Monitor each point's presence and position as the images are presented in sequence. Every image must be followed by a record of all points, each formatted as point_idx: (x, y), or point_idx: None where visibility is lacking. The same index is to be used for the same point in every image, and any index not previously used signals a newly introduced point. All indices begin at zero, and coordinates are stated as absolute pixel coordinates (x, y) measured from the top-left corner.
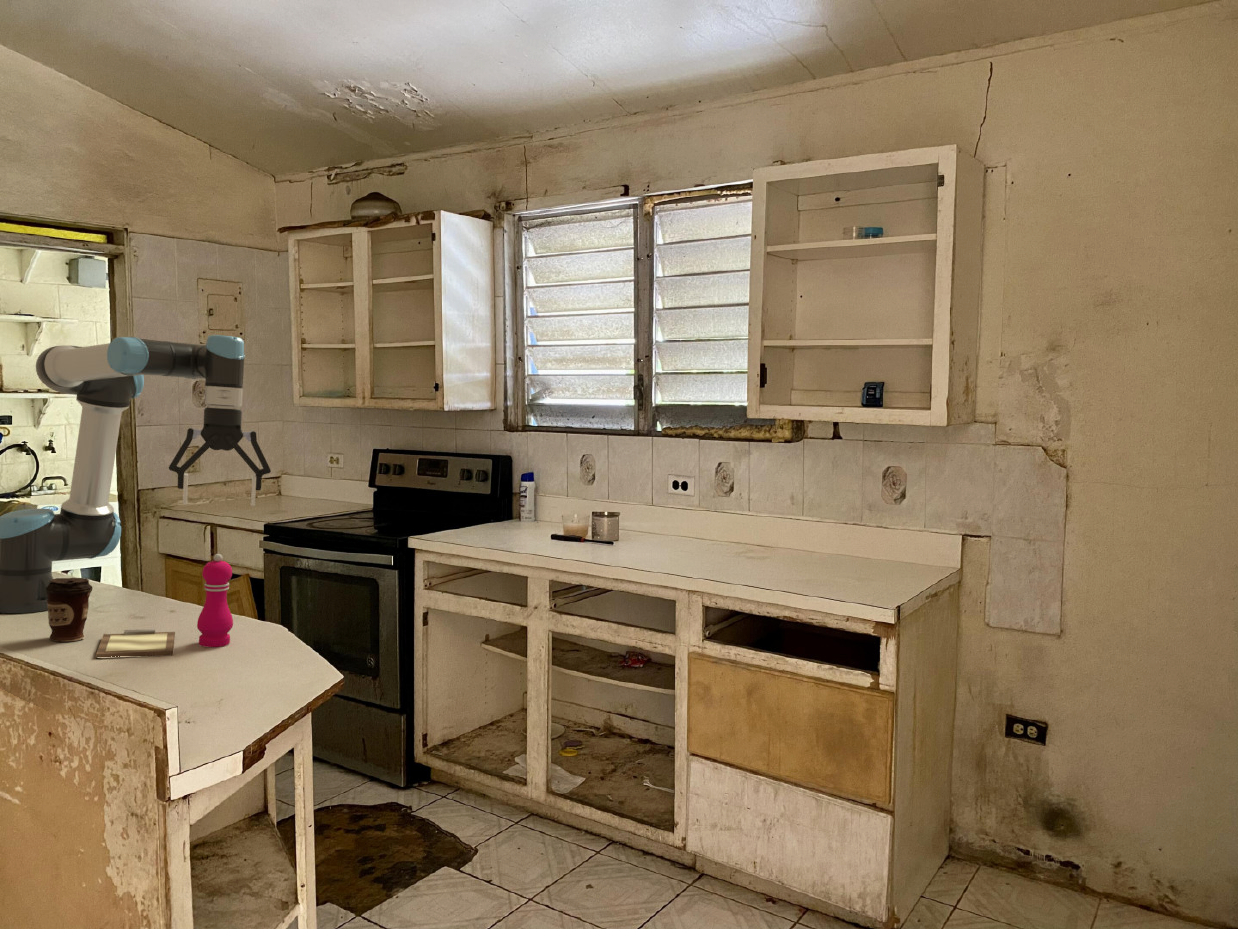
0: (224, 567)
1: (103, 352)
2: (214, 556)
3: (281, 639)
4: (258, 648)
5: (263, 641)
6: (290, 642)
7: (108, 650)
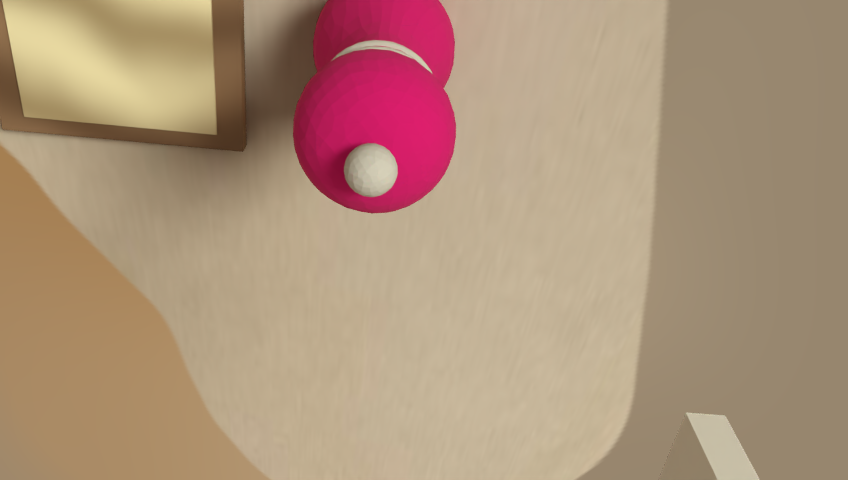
0: (404, 206)
1: None
2: (347, 180)
3: (633, 28)
4: (521, 131)
5: (562, 40)
6: (648, 82)
7: (32, 108)
